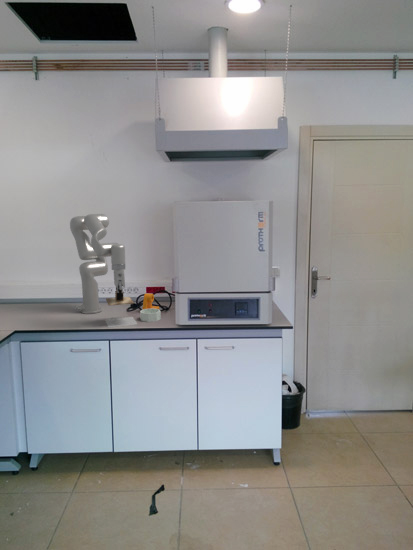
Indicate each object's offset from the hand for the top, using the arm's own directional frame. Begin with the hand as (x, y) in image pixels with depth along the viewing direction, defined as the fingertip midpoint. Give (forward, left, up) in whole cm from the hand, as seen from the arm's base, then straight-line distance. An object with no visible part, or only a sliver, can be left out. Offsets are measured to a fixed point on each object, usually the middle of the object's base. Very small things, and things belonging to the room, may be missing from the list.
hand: (119, 298), depth 216 cm
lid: (0, 0, -2) cm, 2 cm away
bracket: (+21, +16, -15) cm, 30 cm away
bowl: (+17, 0, -14) cm, 23 cm away
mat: (0, 0, -14) cm, 14 cm away
